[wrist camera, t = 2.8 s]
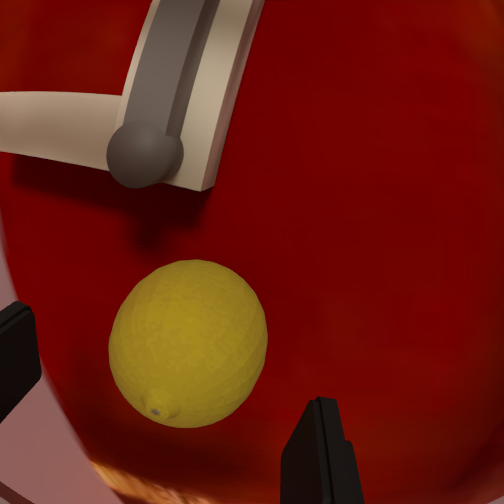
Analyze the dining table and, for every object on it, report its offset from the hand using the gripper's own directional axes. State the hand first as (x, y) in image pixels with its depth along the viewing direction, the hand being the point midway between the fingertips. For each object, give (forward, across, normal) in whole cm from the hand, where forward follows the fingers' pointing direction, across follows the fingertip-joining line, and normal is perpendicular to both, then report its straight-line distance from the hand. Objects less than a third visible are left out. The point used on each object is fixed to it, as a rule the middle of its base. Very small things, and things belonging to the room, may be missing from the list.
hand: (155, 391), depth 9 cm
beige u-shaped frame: (+7, +6, -13) cm, 16 cm away
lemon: (+7, 0, -1) cm, 7 cm away
